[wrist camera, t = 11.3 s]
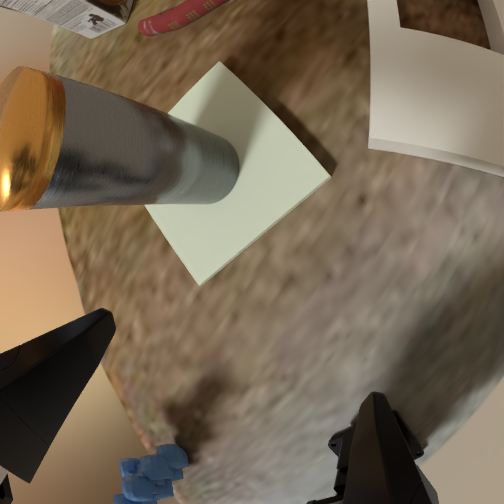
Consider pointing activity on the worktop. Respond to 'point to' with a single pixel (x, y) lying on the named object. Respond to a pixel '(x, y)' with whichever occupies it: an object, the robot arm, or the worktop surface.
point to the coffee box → (76, 13)
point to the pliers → (177, 16)
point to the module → (101, 149)
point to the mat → (249, 180)
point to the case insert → (437, 90)
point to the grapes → (151, 475)
